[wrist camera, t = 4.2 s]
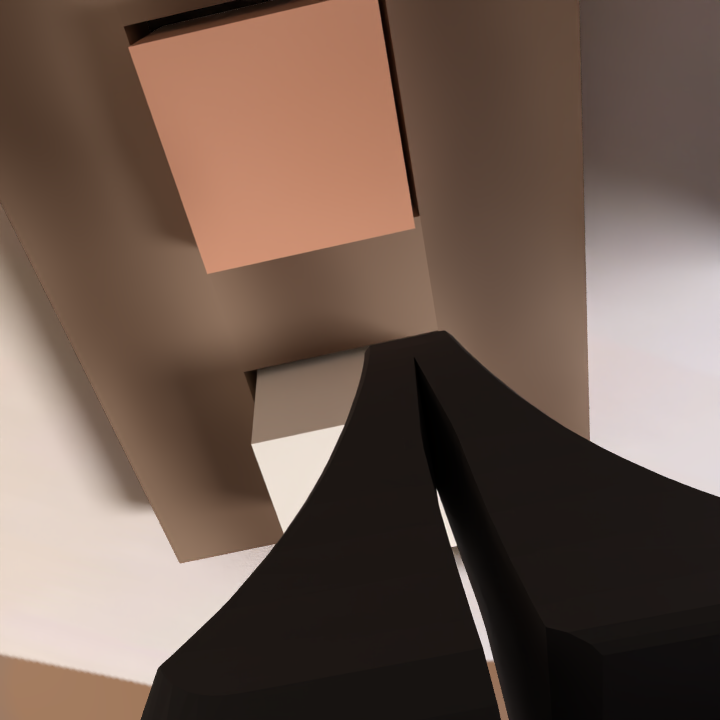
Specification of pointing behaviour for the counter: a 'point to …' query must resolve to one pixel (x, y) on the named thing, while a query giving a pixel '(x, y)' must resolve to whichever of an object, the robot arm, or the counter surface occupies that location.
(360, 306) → the brown rectangular tray
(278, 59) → the key terracotta
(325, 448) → the key cream
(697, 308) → the counter surface
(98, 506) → the counter surface
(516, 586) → the robot arm
